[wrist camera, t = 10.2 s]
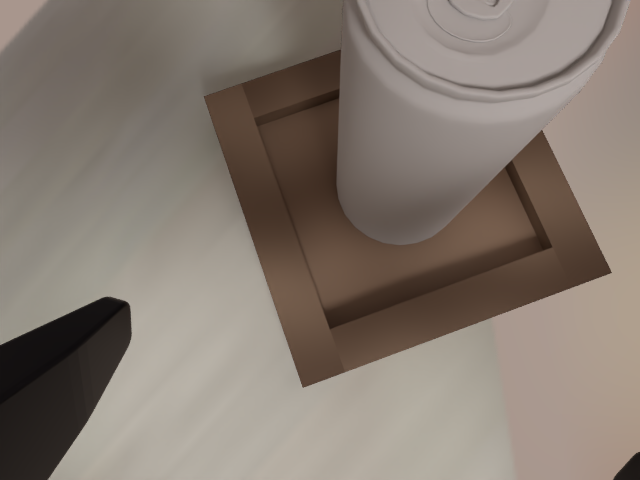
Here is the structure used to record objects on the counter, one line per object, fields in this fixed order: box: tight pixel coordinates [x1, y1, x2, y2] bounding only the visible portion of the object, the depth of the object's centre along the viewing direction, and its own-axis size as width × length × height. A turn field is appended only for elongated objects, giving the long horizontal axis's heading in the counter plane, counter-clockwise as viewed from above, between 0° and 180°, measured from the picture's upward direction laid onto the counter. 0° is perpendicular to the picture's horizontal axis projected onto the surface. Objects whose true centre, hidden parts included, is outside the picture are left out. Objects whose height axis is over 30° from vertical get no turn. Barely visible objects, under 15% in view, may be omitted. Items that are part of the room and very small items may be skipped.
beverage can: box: [336, 0, 630, 245], centre depth 14 cm, size 5×5×12 cm
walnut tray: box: [204, 50, 612, 388], centre depth 20 cm, size 12×12×2 cm
